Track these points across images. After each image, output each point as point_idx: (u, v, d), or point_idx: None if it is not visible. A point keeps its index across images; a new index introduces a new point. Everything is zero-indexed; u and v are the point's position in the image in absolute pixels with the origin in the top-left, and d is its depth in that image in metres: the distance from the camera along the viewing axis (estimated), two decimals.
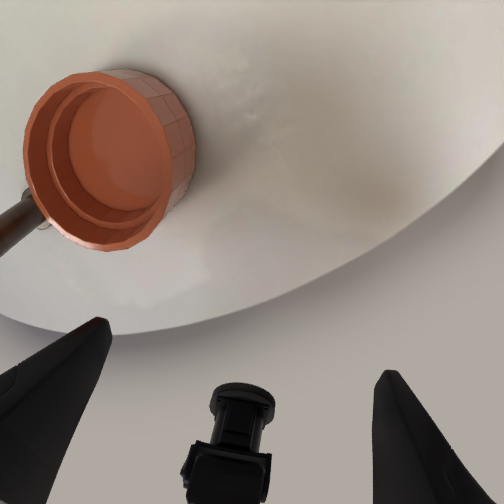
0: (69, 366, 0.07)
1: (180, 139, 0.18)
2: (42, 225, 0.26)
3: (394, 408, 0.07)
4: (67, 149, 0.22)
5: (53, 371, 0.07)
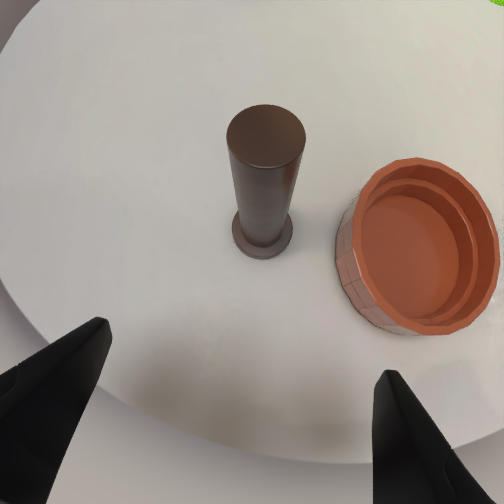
0: (69, 366, 0.07)
1: None
2: (253, 249, 0.23)
3: (394, 408, 0.07)
4: None
5: (53, 371, 0.07)
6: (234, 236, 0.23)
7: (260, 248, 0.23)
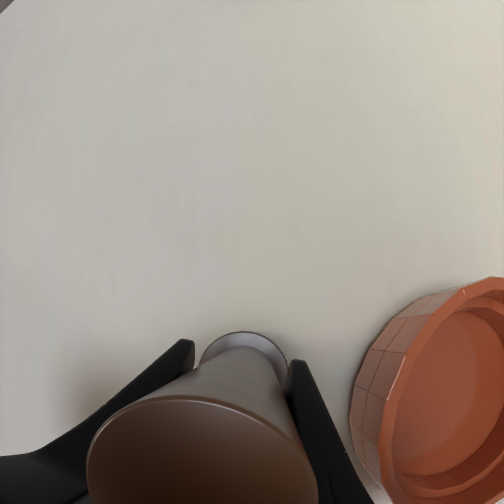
0: None
1: None
2: None
3: (290, 400, 0.08)
4: None
5: None
6: None
7: None
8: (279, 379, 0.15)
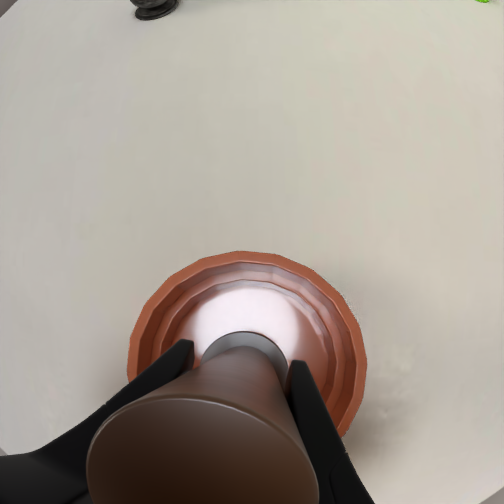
0: None
1: None
2: None
3: (290, 399, 0.08)
4: (188, 311, 0.20)
5: None
6: None
7: None
8: (279, 379, 0.15)
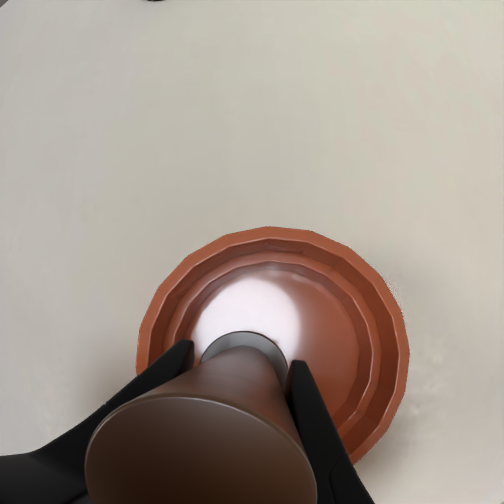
0: None
1: None
2: None
3: (290, 400, 0.08)
4: (205, 299, 0.18)
5: None
6: None
7: None
8: (279, 378, 0.15)
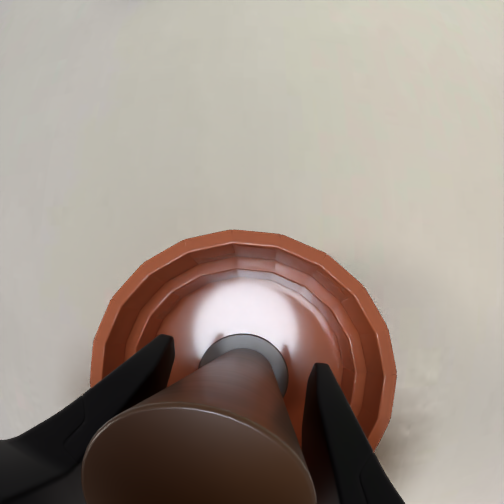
0: (142, 391, 0.07)
1: None
2: None
3: (316, 402, 0.08)
4: (171, 309, 0.16)
5: (128, 400, 0.07)
6: None
7: None
8: (279, 381, 0.15)
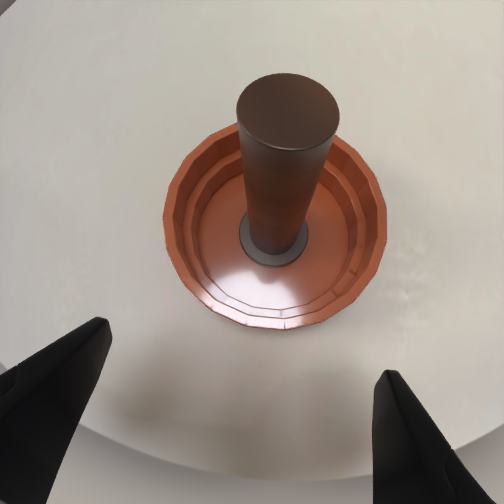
0: (69, 366, 0.07)
1: None
2: (263, 256, 0.20)
3: (394, 408, 0.07)
4: (218, 187, 0.22)
5: (53, 371, 0.07)
6: (241, 241, 0.20)
7: (271, 255, 0.20)
8: (301, 234, 0.20)
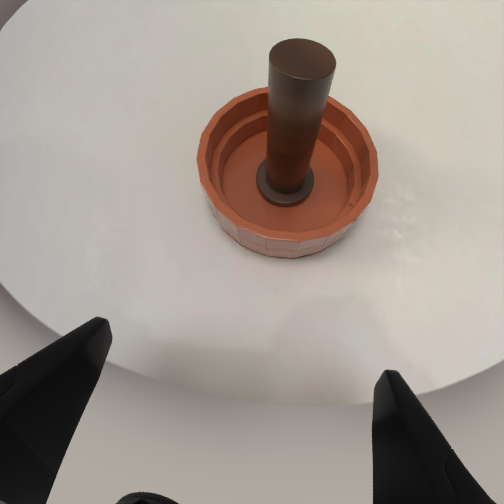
0: (69, 366, 0.07)
1: None
2: (277, 196, 0.24)
3: (394, 408, 0.07)
4: (238, 144, 0.26)
5: (53, 371, 0.07)
6: (259, 184, 0.24)
7: (284, 195, 0.24)
8: (308, 178, 0.24)
